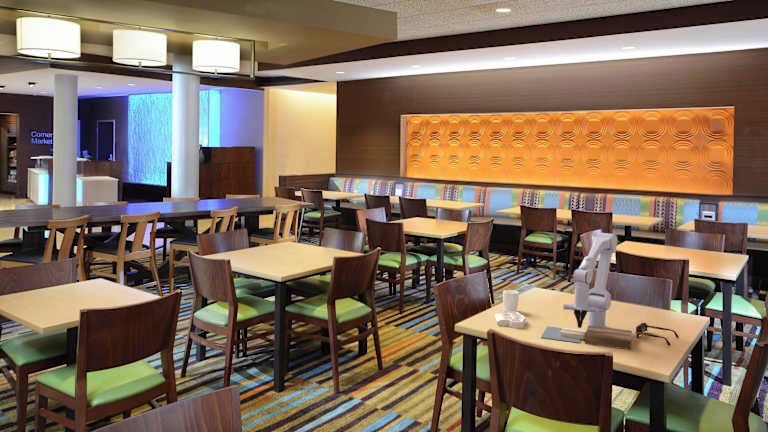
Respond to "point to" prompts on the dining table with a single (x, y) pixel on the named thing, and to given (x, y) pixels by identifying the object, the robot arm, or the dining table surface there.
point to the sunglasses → (643, 328)
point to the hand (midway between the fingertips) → (579, 327)
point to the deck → (608, 337)
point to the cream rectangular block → (573, 333)
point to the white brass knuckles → (511, 319)
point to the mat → (557, 335)
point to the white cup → (510, 300)
